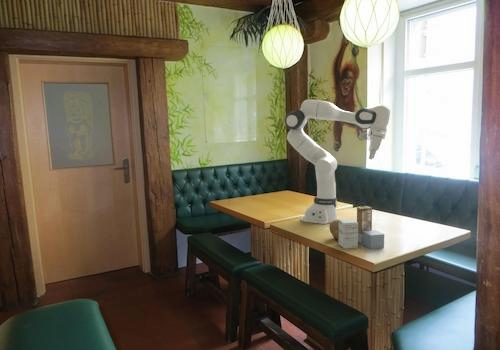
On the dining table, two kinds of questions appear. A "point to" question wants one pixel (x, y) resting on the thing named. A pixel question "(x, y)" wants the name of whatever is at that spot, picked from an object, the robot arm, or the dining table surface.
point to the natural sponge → (334, 228)
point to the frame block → (364, 219)
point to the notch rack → (372, 239)
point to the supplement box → (348, 233)
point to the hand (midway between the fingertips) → (371, 158)
